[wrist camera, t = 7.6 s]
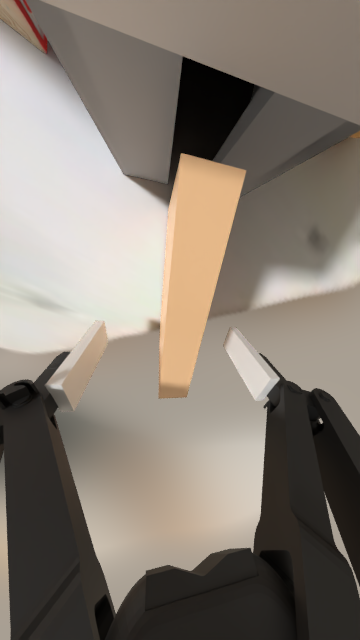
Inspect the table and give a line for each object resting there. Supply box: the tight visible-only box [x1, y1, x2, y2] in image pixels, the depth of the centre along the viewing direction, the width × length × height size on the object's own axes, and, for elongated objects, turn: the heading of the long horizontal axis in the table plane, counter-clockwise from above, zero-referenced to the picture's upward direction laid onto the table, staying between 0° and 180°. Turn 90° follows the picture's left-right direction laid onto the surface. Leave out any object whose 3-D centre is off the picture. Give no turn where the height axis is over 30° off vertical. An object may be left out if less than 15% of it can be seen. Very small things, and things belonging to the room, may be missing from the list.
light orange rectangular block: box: [159, 153, 246, 398], centre depth 12 cm, size 14×2×9 cm, turn 172°
